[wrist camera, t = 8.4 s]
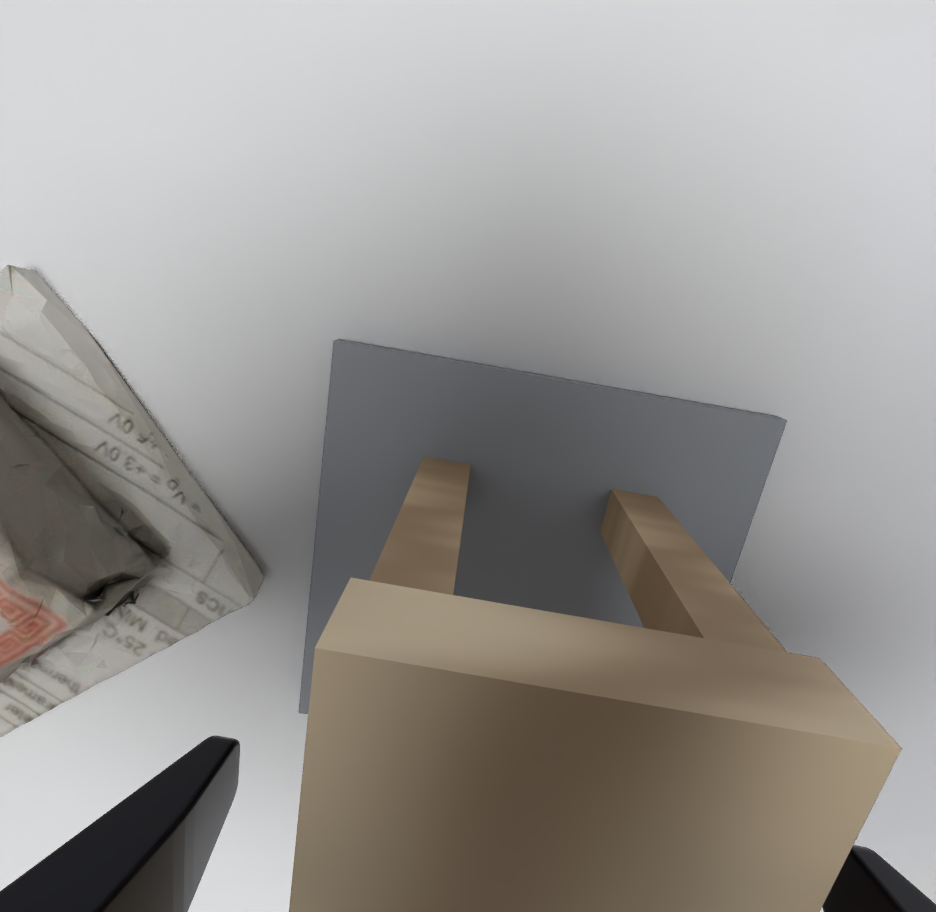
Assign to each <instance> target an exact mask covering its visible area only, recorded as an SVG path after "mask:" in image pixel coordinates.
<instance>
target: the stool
mask: <svg viewBox="0 0 936 912" xmlns="http://www.w3.org/2000/svg"><path fill="white" fill-rule="evenodd" d="M470 466H471V465H470V464H464V463H459V462H453V461H447V460H441V459H435V458H430V457H423V459H422V461H421V464H420V466H419V468H418V471H417V473H416V475H415V477H414V480H413V482H412V484H411V487H410V489H409V491H408V493H407V496H406V498H405V500H404V502H403V505H402V507H401V509H400V512H399V514H398V516H397V518H396V521H395V523H394V525H393V528H392V530H391V532H390V534H389V537H388V539H387V541H386V544H385V546H384V548H383V550H382V553H381V555H380V557H379V560H378V562H377V564H376V566H375V569H374V571H373V573H372V575H371V578H370V580H369V581H368V580H362V579H357V578H350V580H349V582H348V584H347V586H346V588H345V590H344V592H343V594H342V596H341V598H340V600H339V601H338V603H337V605H336V607H335V609H334V611H333V613H332V615H331V617H330V619H329V621H328V623H327V625H326V627H325V629H324V631H323V633H322V635H321V637H320V639H319V641H318V643H317V645H316V647H315V652H314V662H313V673H312V683H311V693H310V703H309V713H308V724H307V734H306V744H305V754H304V764H303V774H302V785H301V795H300V805H299V815H298V825H297V836H296V846H295V856H294V866H293V876H292V886H291V897H290V907H289V912H820V910H821V908H822V906H823V904H824V902H825V900H826V898H827V896H828V894H829V892H830V890H831V888H832V886H833V884H834V882H835V880H836V878H837V876H838V874H839V872H840V870H841V868H842V866H843V864H844V862H845V860H846V858H847V856H848V854H849V852H850V850H851V848H852V846H853V844H854V842H855V840H856V838H857V836H858V835H859V833H860V831H861V829H862V827H863V825H864V823H865V821H866V819H867V817H868V815H869V813H870V811H871V809H872V807H873V805H874V803H875V801H876V799H877V797H878V795H879V793H880V791H881V789H882V787H883V785H884V783H885V781H886V779H887V777H888V775H889V773H890V771H891V769H892V767H893V765H894V763H895V761H896V759H897V757H898V755H899V753H900V751H901V749H902V748H901V747H900V746H899V744H898V743H897V742H896V741H895V740H894V739H893V738H892V737H891V736H890V735H889V733H888V732H887V731H886V730H885V729H884V728H883V727H882V726H881V725H880V724H879V722H878V721H877V720H876V719H875V718H874V717H873V716H872V715H871V714H870V713H869V711H868V710H867V709H866V708H865V707H864V706H863V705H862V704H861V703H860V702H859V700H858V699H857V698H856V697H855V696H854V695H853V694H852V693H851V692H850V691H849V689H848V688H847V687H846V686H845V685H844V684H843V683H842V682H841V681H840V680H839V678H838V677H837V676H836V675H835V674H834V673H833V672H832V671H831V670H830V669H829V667H828V666H827V665H826V664H825V663H824V662H823V661H822V660H821V659H820V658H816V657H810V656H804V655H798V654H793V653H787V651H786V650H785V649H784V648H783V647H782V645H781V644H780V643H779V642H778V641H777V639H776V638H775V637H774V636H773V635H772V633H771V632H770V631H769V630H768V628H767V627H766V626H765V625H764V624H763V622H762V621H761V620H760V619H759V618H758V616H757V615H756V614H755V613H754V612H753V610H752V609H751V608H750V607H749V606H748V604H747V603H746V602H745V601H744V600H743V598H742V597H741V596H740V595H739V594H738V592H737V591H736V590H735V589H734V588H733V586H732V585H731V584H730V583H729V582H728V580H727V579H726V578H725V577H724V576H723V574H722V573H721V572H720V571H719V570H718V568H717V567H716V566H715V565H714V564H713V562H712V561H711V560H710V559H709V558H708V556H707V555H706V554H705V553H704V552H703V550H702V549H701V548H700V547H699V546H698V544H697V543H696V542H695V541H694V540H693V538H692V537H691V536H690V535H689V534H688V532H687V531H686V530H685V529H684V528H683V526H682V525H681V524H680V523H679V521H678V520H677V519H676V518H675V517H674V515H673V514H672V513H671V512H670V511H669V509H668V508H667V507H666V506H665V505H664V503H663V502H662V501H661V500H660V499H659V497H655V496H649V495H643V494H638V493H632V492H626V491H620V490H615V489H611V492H610V496H609V500H608V504H607V507H606V511H605V515H604V519H603V523H602V527H601V530H600V533H601V535H602V537H603V539H604V541H605V544H606V546H607V548H608V550H609V552H610V555H611V557H612V559H613V561H614V563H615V565H616V568H617V570H618V572H619V574H620V576H621V578H622V581H623V583H624V585H625V587H626V589H627V592H628V594H629V596H630V598H631V600H632V602H633V605H634V607H635V609H636V611H637V613H638V616H639V618H640V620H641V622H642V624H643V626H644V628H641V627H636V626H630V625H624V624H618V623H612V622H607V621H601V620H595V619H589V618H583V617H578V616H572V615H566V614H560V613H554V612H548V611H543V610H537V609H531V608H525V607H519V606H514V605H508V604H502V603H496V602H490V601H484V600H479V599H473V598H467V597H461V596H455V595H453V592H454V585H455V577H456V570H457V563H458V555H459V548H460V540H461V533H462V525H463V518H464V510H465V503H466V495H467V488H468V481H469V473H470Z"/></svg>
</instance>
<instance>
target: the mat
mask: <svg viewBox="0 0 936 912" xmlns="http://www.w3.org/2000/svg"><path fill="white" fill-rule="evenodd" d="M786 422H787V420H784V419H782V418H780V417H777V416H773V415H767V414H761V413H756V412H750V411H744V410H739V409H733V408H727V407H721V406H716V405H710V404H704V403H699V402H693V401H687V400H682V399H676V398H670V397H665V396H659V395H653V394H648V393H642V392H636V391H631V390H625V389H619V388H614V387H608V386H602V385H597V384H591V383H585V382H580V381H574V380H568V379H563V378H557V377H551V376H546V375H540V374H534V373H529V372H523V371H517V370H512V369H506V368H500V367H495V366H489V365H483V364H478V363H472V362H466V361H461V360H455V359H449V358H444V357H438V356H432V355H427V354H421V353H415V352H409V351H404V350H398V349H392V348H387V347H381V346H375V345H370V344H364V343H358V342H353V341H347V340H341V339H338V340H334V343H333V354H332V364H331V375H330V386H329V396H328V407H327V417H326V428H325V439H324V449H323V460H322V470H321V481H320V492H319V502H318V513H317V523H316V534H315V545H314V555H313V566H312V576H311V587H310V598H309V608H308V619H307V629H306V640H305V650H304V661H303V672H302V682H301V693H300V703H299V713H303V714H308V713H309V703H310V693H311V683H312V673H313V662H314V652H315V647H316V645H317V643H318V641H319V639H320V637H321V635H322V633H323V631H324V629H325V627H326V625H327V623H328V621H329V619H330V617H331V615H332V613H333V611H334V609H335V607H336V605H337V603H338V601H339V600H340V598H341V596H342V594H343V592H344V590H345V588H346V586H347V584H348V582H349V580H350V578H357V579H362V580H368V581H369V580H370V578H371V575H372V573H373V571H374V569H375V566H376V564H377V562H378V560H379V557H380V555H381V553H382V550H383V548H384V546H385V544H386V541H387V539H388V537H389V534H390V532H391V530H392V528H393V525H394V523H395V521H396V518H397V516H398V514H399V512H400V509H401V507H402V505H403V502H404V500H405V498H406V496H407V493H408V491H409V489H410V487H411V484H412V482H413V480H414V477H415V475H416V473H417V471H418V468H419V466H420V464H421V461H422V459H423V457H430V458H435V459H441V460H447V461H453V462H459V463H464V464H470V465H471V466H470V473H469V481H468V488H467V495H466V503H465V510H464V518H463V525H462V533H461V540H460V548H459V555H458V563H457V570H456V577H455V585H454V592H453V595H455V596H461V597H467V598H473V599H479V600H484V601H490V602H496V603H502V604H508V605H514V606H519V607H525V608H531V609H537V610H543V611H548V612H554V613H560V614H566V615H572V616H578V617H583V618H589V619H595V620H601V621H607V622H612V623H618V624H624V625H630V626H636V627H641V628H644V626H643V624H642V622H641V620H640V618H639V616H638V613H637V611H636V609H635V607H634V605H633V602H632V600H631V598H630V596H629V594H628V592H627V589H626V587H625V585H624V583H623V581H622V578H621V576H620V574H619V572H618V570H617V568H616V565H615V563H614V561H613V559H612V557H611V555H610V552H609V550H608V548H607V546H606V544H605V541H604V539H603V537H602V535H601V533H600V530H601V527H602V523H603V519H604V515H605V511H606V507H607V504H608V500H609V496H610V492H611V489H615V490H620V491H626V492H632V493H638V494H643V495H649V496H655V497H659V499H660V500H661V501H662V502H663V503H664V505H665V506H666V507H667V508H668V509H669V511H670V512H671V513H672V514H673V515H674V517H675V518H676V519H677V520H678V521H679V523H680V524H681V525H682V526H683V528H684V529H685V530H686V531H687V532H688V534H689V535H690V536H691V537H692V538H693V540H694V541H695V542H696V543H697V544H698V546H699V547H700V548H701V549H702V550H703V552H704V553H705V554H706V555H707V556H708V558H709V559H710V560H711V561H712V562H713V564H714V565H715V566H716V567H717V568H718V570H719V571H720V572H721V573H722V574H723V576H724V577H725V578H726V579H727V580H728V582H729V583H730V582H731V579H732V576H733V573H734V570H735V567H736V565H737V562H738V559H739V556H740V553H741V550H742V547H743V545H744V542H745V539H746V536H747V533H748V530H749V528H750V525H751V522H752V519H753V516H754V513H755V510H756V508H757V505H758V502H759V499H760V496H761V493H762V491H763V488H764V485H765V482H766V479H767V476H768V473H769V471H770V468H771V465H772V462H773V459H774V456H775V453H776V451H777V448H778V445H779V442H780V439H781V436H782V434H783V431H784V428H785V425H786Z"/></svg>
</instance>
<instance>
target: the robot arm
mask: <svg viewBox="0 0 936 912" xmlns="http://www.w3.org/2000/svg"><path fill="white" fill-rule="evenodd" d="M239 758H240V744H239V741H238V740H236V739H233V738H227V737H221V736H211V737H209V738H207V739H205V740H204V741H203V742H201V743H200V744H199V745H197V746H196V747H195V748H193V749H192V750H191V751H189V752H188V753H187V754H185V755H184V756H183V757H181V758H180V759H178V760H177V761H176V762H174V763H173V764H172V765H170V766H169V767H168V768H166V769H165V770H164V771H162V772H161V773H160V774H158V775H157V776H156V777H154V778H153V779H151V780H150V781H149V782H147V783H146V784H145V785H143V786H142V787H141V788H139V789H138V790H137V791H135V792H134V793H133V794H131V795H130V796H128V797H127V798H126V799H124V800H123V801H122V802H120V803H119V804H118V805H116V806H115V807H114V808H112V809H111V810H110V811H108V812H107V813H106V814H104V815H103V816H101V817H100V818H99V819H97V820H96V821H95V822H93V823H92V824H91V825H89V826H88V827H87V828H85V829H84V830H83V831H81V832H80V833H79V834H77V835H76V836H74V837H73V838H72V839H70V840H69V841H68V842H66V843H65V844H64V845H62V846H61V847H60V848H58V849H57V850H56V851H54V852H53V853H51V854H50V855H49V856H47V857H46V858H45V859H43V860H42V861H41V862H39V863H38V864H37V865H35V866H34V867H33V868H31V869H30V870H29V871H27V872H26V873H24V874H23V875H22V876H20V877H19V878H18V879H16V880H15V881H14V882H12V883H11V884H10V885H8V886H7V887H6V888H4V889H3V890H2V891H0V912H187V911H188V909H189V907H190V904H191V902H192V900H193V897H194V895H195V892H196V890H197V887H198V885H199V883H200V880H201V878H202V875H203V873H204V870H205V868H206V866H207V863H208V861H209V858H210V856H211V853H212V851H213V848H214V846H215V844H216V841H217V839H218V836H219V834H220V831H221V829H222V827H223V824H224V822H225V819H226V817H227V814H228V812H229V809H230V807H231V805H232V802H233V800H234V797H235V794H236V790H237V786H238V776H239ZM822 907H823V910H824V912H936V904H935V903H933V902H932V901H931V900H930V899H929V898H928V897H927V896H925V895H924V894H923V893H922V892H921V891H920V890H918V889H917V888H916V887H915V886H914V885H913V884H912V883H910V882H909V881H908V880H907V879H906V878H905V877H903V876H902V875H901V874H900V873H899V872H898V871H897V870H895V869H894V868H893V867H892V866H891V865H890V864H888V863H887V862H886V861H885V860H884V859H883V858H881V857H880V856H879V855H878V854H877V853H876V852H874V851H873V850H871V849H869V848H866V847H862V846H856V845H853V846H852V848H851V850H850V852H849V854H848V856H847V858H846V860H845V862H844V864H843V866H842V868H841V870H840V872H839V874H838V876H837V878H836V880H835V882H834V884H833V886H832V888H831V890H830V892H829V894H828V896H827V898H826V900H825V902H824V904H823V906H822Z"/></svg>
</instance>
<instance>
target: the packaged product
mask: <svg viewBox="0 0 936 912" xmlns="http://www.w3.org/2000/svg"><path fill="white" fill-rule="evenodd" d="M263 579H264V576H263V574H262V572H261V571H260V569H259V567H258V565H257V564H256V562H255V561H254V560H253V558H252V557H251V556H250V554H249V553H248V551H247V550H246V549H245V547H244V546H243V545H242V543H241V542H240V540H239V539H238V538H237V536H236V535H235V534H234V532H233V531H232V529H231V528H230V527H229V525H228V524H227V523H226V521H225V520H224V518H223V517H222V516H221V514H220V513H219V512H218V510H217V509H216V508H215V506H214V505H213V503H212V502H211V501H210V499H209V498H208V497H207V495H206V494H205V492H204V491H203V490H202V488H201V487H200V486H199V484H198V483H197V482H196V480H195V479H194V478H193V477H192V476H191V474H190V472H189V471H188V469H187V468H186V467H185V465H184V464H183V462H182V461H181V459H180V458H179V457H178V455H177V454H176V452H175V451H174V450H173V448H172V447H171V445H170V444H169V442H168V441H167V440H166V438H165V437H164V435H163V434H162V433H161V431H160V430H159V428H158V427H157V425H156V424H155V423H154V421H153V420H152V419H151V417H150V416H149V415H148V413H147V412H146V410H145V409H144V408H143V406H142V405H141V404H140V402H139V401H138V399H137V398H136V397H135V395H134V394H133V393H132V391H131V390H130V388H129V387H128V386H127V384H126V383H125V382H124V380H123V379H122V378H121V376H120V375H119V373H118V372H117V371H116V369H115V368H114V367H113V365H112V364H111V362H110V361H109V360H108V358H107V357H106V356H105V354H104V353H103V351H102V350H101V349H100V347H99V346H98V345H97V343H96V342H95V341H94V339H93V338H92V336H91V335H90V334H89V332H88V331H87V330H86V328H85V327H84V326H83V324H82V323H81V322H80V321H79V320H78V319H77V318H76V316H75V315H74V314H73V313H72V312H71V311H70V310H69V308H68V307H67V306H66V305H65V304H64V303H63V302H62V300H61V299H60V298H59V297H58V296H57V295H56V294H55V292H54V291H53V290H52V289H51V288H50V287H49V286H48V284H47V283H46V282H45V281H44V280H43V279H42V277H41V276H40V275H39V274H38V273H37V272H36V271H31V270H27V269H23V268H19V267H15V266H11V265H7V266H6V267H5V268H4V269H3V270H2V271H1V272H0V737H2V736H4V735H6V734H7V733H9V732H11V731H12V730H14V729H16V728H18V727H19V726H21V725H23V724H25V723H27V722H29V721H31V720H33V719H35V718H37V717H38V716H40V715H42V714H43V713H45V712H47V711H49V710H51V709H53V708H54V707H56V706H58V705H59V704H61V703H63V702H65V701H67V700H69V699H71V698H73V697H75V696H77V695H79V694H80V693H82V692H84V691H85V690H87V689H89V688H90V687H92V686H94V685H95V684H97V683H99V682H102V681H104V680H106V679H108V678H110V677H112V676H114V675H116V674H118V673H120V672H122V671H124V670H126V669H128V668H129V667H131V666H133V665H135V664H137V663H139V662H141V661H143V660H144V659H146V658H148V657H149V656H151V655H153V654H155V653H157V652H159V651H161V650H163V649H165V648H167V647H169V646H171V645H173V644H174V643H176V642H178V641H180V640H181V639H183V638H185V637H186V636H189V635H191V634H193V633H195V632H197V631H199V630H201V629H202V628H203V627H205V626H206V625H208V624H210V623H211V622H213V621H215V620H217V619H219V618H221V617H223V616H224V615H226V614H228V613H231V612H233V611H235V610H238V609H240V608H242V607H244V606H246V605H248V604H249V603H250V602H252V601H253V600H254V599H255V597H256V595H257V593H258V590H259V588H260V586H261V584H262V581H263Z"/></svg>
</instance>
